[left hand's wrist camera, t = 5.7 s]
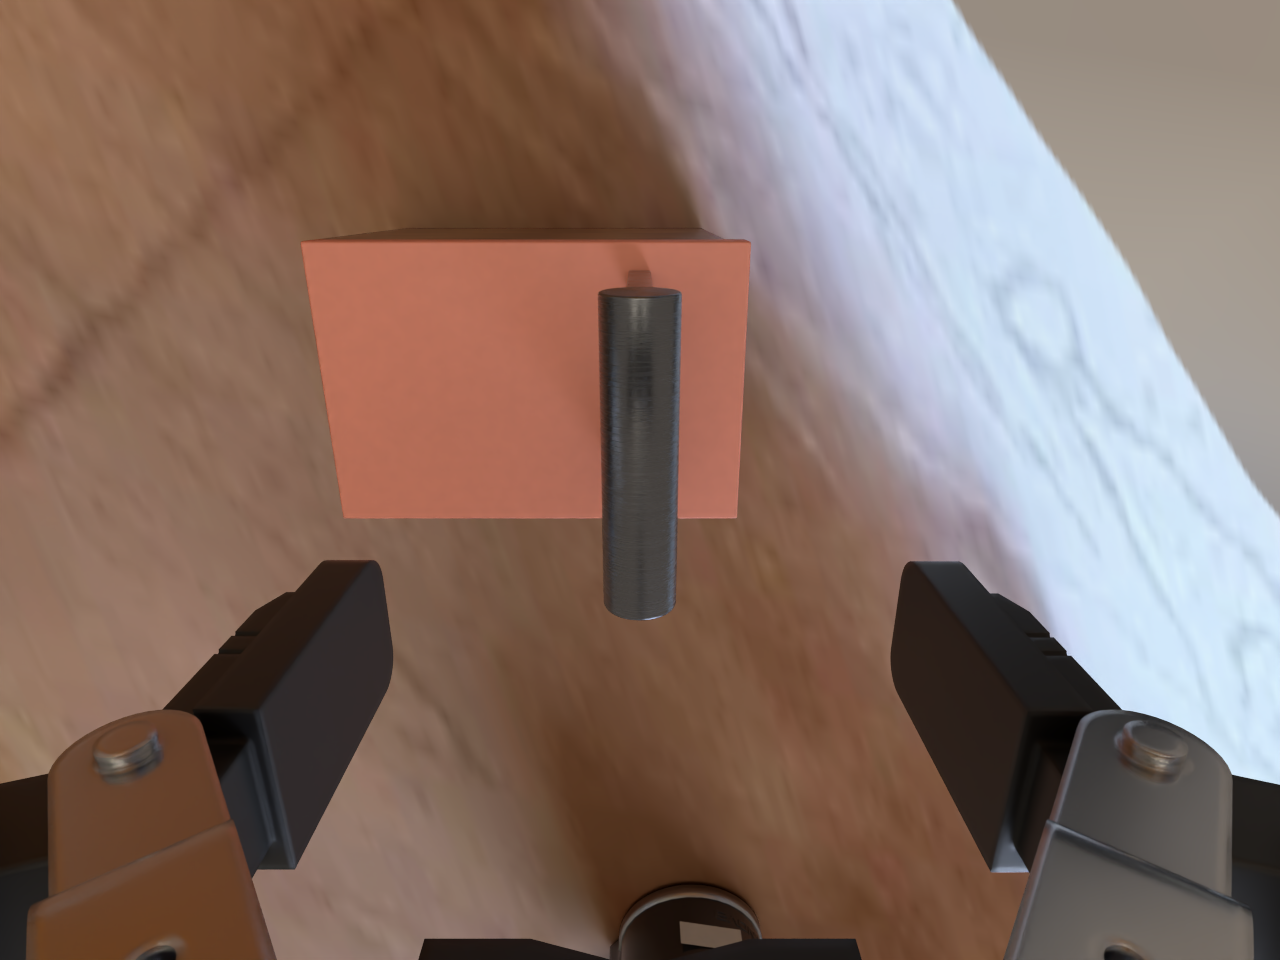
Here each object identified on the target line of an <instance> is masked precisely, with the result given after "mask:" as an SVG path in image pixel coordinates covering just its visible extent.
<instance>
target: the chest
mask: <svg viewBox="0 0 1280 960" xmlns="http://www.w3.org/2000/svg"><path fill="white" fill-rule="evenodd" d="M324 239H723V238H721V237H719V236H716V235H714V234H712V233H710V232H708V231H706V230H703V229H702V228H405V229H397V230H389V231H381V232H373V233H365V234H357V235H349V236H340V237H332V238H324Z"/></svg>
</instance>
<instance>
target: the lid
mask: <svg viewBox="0 0 1280 960" xmlns="http://www.w3.org/2000/svg"><path fill="white" fill-rule="evenodd" d="M301 249H302V255H303V262H304V268H305V274H306V281H307V287H308V294H309V300H310V306H311V313H312V319H313V326H314V332H315V338H316V345H317V351H318V357H319V364H320V370H321V377H322V383H323V389H324V396H325V402H326V409H327V415H328V421H329V428H330V434H331V440H332V447H333V453H334V460H335V466H336V472H337V479H338V485H339V492H340V498H341V504H342V511H343V517H344V518H602V533H603V583H604V604H605V606H606V608H607V609H608V611H610V612H611V613H612V614H614V615H616V616H618V617H621V618H625V619H630V620H650V619H655V618H659V617H661V616H664V615H666V614H667V613H669V612H670V611H671V610H672V609H673V608H674V606H675V603H676V567H677V518H736V517H737V505H738V486H739V466H740V447H741V427H742V408H743V389H744V369H745V350H746V330H747V311H748V291H749V272H750V252H751V242H749V241H747V240H744V239H316V240H308V241H302V242H301Z"/></svg>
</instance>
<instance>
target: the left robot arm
mask: <svg viewBox="0 0 1280 960" xmlns="http://www.w3.org/2000/svg"><path fill="white" fill-rule="evenodd" d="M1066 652H1067V651H1066V650H1065V649H1064V648H1063V647H1062V646H1061V645H1060V644H1059V643H1058V642H1057V640H1056V639H1055V638H1050V633H1049V632H1048V631H1047V630H1046V629H1045V628H1044V627H1043V626H1042V625H1041V624H1040V622H1039V621H1038V620H1037V619H1036V618H1035V617H1034V616H1033V615H1032V614H1031V613H1030V612H1029V611H1027V610H1025V609H1024V608H1022V607H1020V606H1019V605H1017V604H1015V603H1013V602H1012V601H1010V600H1008V599H1007V598H1005V597H1003V596H1002V595H1000V594H990V593H989V592H988V591H987V590H986V589H985V588H984V586H983V585H982V584H981V583H980V582H979V581H978V580H977V579H976V577H975V576H974V575H973V574H972V573H971V572H970V571H969V570H968V568H967V567H966V566H965V565H964V564H963V563H961V562H957V561H910V562H908V563H907V564H906V565H905V567H904V569H903V572H902V577H901V583H900V590H899V597H898V604H897V611H896V618H895V625H894V632H893V639H892V646H891V671H892V677H893V682H894V685H895V688H896V691H897V693H898V695H899V697H900V699H901V701H902V703H903V705H904V706H905V708H906V710H907V712H908V714H909V716H910V718H911V720H912V722H913V724H914V726H915V728H916V729H917V731H918V733H919V735H920V737H921V739H922V741H923V743H924V745H925V747H926V749H927V751H928V752H929V754H930V756H931V758H932V760H933V762H934V764H935V766H936V768H937V770H938V772H939V774H940V775H941V777H942V779H943V781H944V783H945V785H946V787H947V789H948V791H949V793H950V795H951V797H952V798H953V800H954V802H955V804H956V806H957V808H958V810H959V812H960V814H961V816H962V818H963V820H964V821H965V823H966V825H967V827H968V829H969V831H970V833H971V835H972V837H973V839H974V841H975V843H976V844H977V846H978V848H979V850H980V852H981V854H982V856H983V858H984V860H985V862H986V864H987V866H988V867H989V869H990V871H991V872H1029V873H1030V875H1029V878H1028V881H1027V884H1026V888H1025V891H1024V894H1023V897H1022V901H1021V904H1020V907H1019V910H1018V914H1017V917H1016V920H1015V923H1014V926H1013V930H1012V933H1011V936H1010V939H1009V943H1008V946H1007V949H1006V952H1005V956H1004V959H1003V960H1280V785H1278V784H1273V783H1268V782H1264V781H1259V780H1254V779H1249V778H1244V777H1240V776H1235V775H1232V774H1231V772H1230V769H1229V767H1228V765H1227V764H1226V763H1225V761H1224V760H1223V758H1222V757H1221V756H1220V755H1219V754H1218V753H1217V752H1216V751H1215V750H1214V749H1213V748H1211V747H1210V746H1209V745H1208V744H1206V743H1205V742H1204V741H1202V740H1201V739H1199V738H1198V737H1196V736H1195V735H1193V734H1192V733H1190V732H1188V731H1186V730H1184V729H1183V728H1180V727H1178V726H1176V725H1174V724H1172V723H1170V722H1167V721H1164V720H1162V719H1159V718H1156V717H1153V716H1149V715H1146V714H1142V713H1137V712H1133V711H1125V710H1122V709H1121V708H1120V707H1119V706H1118V705H1117V704H1116V703H1115V702H1114V701H1113V700H1112V699H1111V698H1110V697H1109V696H1108V694H1107V693H1106V692H1105V691H1104V690H1103V689H1102V688H1101V687H1100V686H1099V685H1098V684H1097V683H1096V682H1095V681H1094V680H1093V679H1092V678H1091V676H1090V675H1089V674H1088V673H1087V672H1086V671H1085V670H1084V669H1083V668H1082V667H1081V666H1080V665H1079V664H1078V663H1077V662H1076V661H1075V660H1074V658H1073V657H1072V656H1067V653H1066ZM392 668H393V646H392V639H391V632H390V625H389V618H388V611H387V604H386V596H385V589H384V582H383V576H382V571H381V568H380V566H379V564H378V563H377V562H376V561H374V560H326V561H323V562H321V563H320V564H319V565H318V567H317V568H316V569H315V570H314V571H313V572H312V573H311V575H310V576H309V577H308V578H307V579H306V580H305V581H304V583H303V584H302V585H301V586H300V587H299V588H298V589H297V590H296V592H286V593H284V594H283V595H281V596H279V597H277V598H276V599H274V600H272V601H271V602H269V603H267V604H265V605H264V606H262V607H260V608H259V609H257V610H255V611H254V612H253V614H252V615H251V616H250V617H249V618H248V619H247V620H246V621H245V622H244V623H243V624H242V625H241V626H240V627H239V628H238V630H237V631H236V634H235V636H231V637H230V638H229V639H228V640H227V641H226V642H225V643H224V644H223V646H222V647H221V648H220V649H219V653H218V654H214V655H213V656H212V657H211V658H210V659H209V660H208V662H207V663H206V664H205V665H204V666H203V667H202V668H201V669H200V670H199V671H198V672H197V673H196V674H195V675H194V677H193V678H192V679H191V680H190V681H189V682H188V683H187V684H186V685H185V686H184V687H183V688H182V689H181V690H180V691H179V693H178V694H177V695H176V696H175V697H174V698H173V699H172V700H171V701H170V702H169V703H168V704H167V705H166V706H165V707H164V709H163V710H155V711H147V712H143V713H138V714H134V715H131V716H127V717H124V718H121V719H118V720H116V721H113V722H110V723H108V724H106V725H104V726H102V727H100V728H97V729H96V730H94V731H92V732H90V733H88V734H87V735H85V736H84V737H82V738H81V739H79V740H78V741H76V742H75V743H74V744H72V745H71V746H70V747H69V748H67V749H66V750H65V751H64V752H63V753H62V754H61V755H60V756H59V757H58V758H57V760H56V761H55V763H54V764H53V765H52V767H51V769H50V772H49V774H45V775H40V776H35V777H30V778H25V779H21V780H16V781H11V782H6V783H2V784H0V960H277V959H276V956H275V952H274V949H273V946H272V943H271V939H270V936H269V933H268V930H267V926H266V923H265V920H264V917H263V914H262V910H261V907H260V904H259V901H258V897H257V894H256V891H255V888H254V884H253V881H252V877H253V876H254V874H255V872H256V870H257V869H295V868H296V866H297V864H298V862H299V860H300V858H301V856H302V854H303V852H304V850H305V848H306V847H307V845H308V843H309V841H310V839H311V837H312V835H313V833H314V831H315V829H316V827H317V825H318V823H319V821H320V819H321V817H322V816H323V814H324V812H325V810H326V808H327V806H328V804H329V802H330V800H331V798H332V796H333V794H334V792H335V790H336V788H337V786H338V784H339V783H340V781H341V779H342V777H343V775H344V773H345V771H346V769H347V767H348V765H349V763H350V761H351V759H352V757H353V755H354V753H355V752H356V750H357V748H358V746H359V744H360V742H361V740H362V738H363V736H364V734H365V732H366V730H367V728H368V726H369V724H370V722H371V720H372V719H373V717H374V715H375V713H376V711H377V709H378V707H379V705H380V703H381V701H382V699H383V697H384V695H385V693H386V691H387V689H388V686H389V683H390V679H391V675H392ZM419 960H609V959H606V958H602V957H598V956H594V955H590V954H587V953H583V952H579V951H575V950H571V949H567V948H564V947H560V946H556V945H552V944H548V943H544V942H541V941H537V940H533V939H424V943H423V946H422V949H421V953H420V956H419ZM610 960H861V956H860V953H859V949H858V946H857V943H856V939H762V937H761V931H760V926H759V922H758V920H757V917H756V915H755V914H754V912H753V911H752V909H751V908H750V907H749V906H748V905H747V904H746V903H745V902H744V901H742V900H741V899H740V898H738V897H737V896H735V895H733V894H731V893H729V892H727V891H724V890H721V889H718V888H715V887H710V886H704V885H679V886H673V887H668V888H664V889H661V890H658V891H656V892H654V893H651V894H649V895H647V896H646V897H644V898H643V899H641V900H640V901H638V902H637V903H636V904H635V905H634V906H633V907H632V908H631V909H630V910H629V911H628V912H627V914H626V915H625V917H624V919H623V921H622V923H621V926H620V931H619V940H618V941H617V942H616V943H614V944H613V945H612V946H611V947H610Z"/></svg>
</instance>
